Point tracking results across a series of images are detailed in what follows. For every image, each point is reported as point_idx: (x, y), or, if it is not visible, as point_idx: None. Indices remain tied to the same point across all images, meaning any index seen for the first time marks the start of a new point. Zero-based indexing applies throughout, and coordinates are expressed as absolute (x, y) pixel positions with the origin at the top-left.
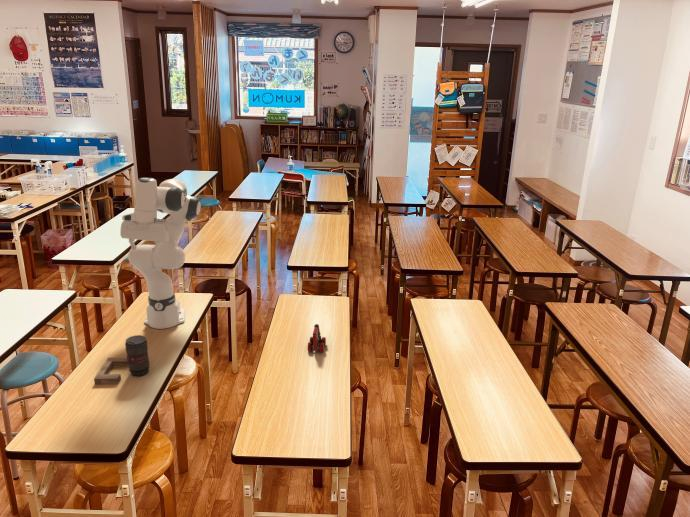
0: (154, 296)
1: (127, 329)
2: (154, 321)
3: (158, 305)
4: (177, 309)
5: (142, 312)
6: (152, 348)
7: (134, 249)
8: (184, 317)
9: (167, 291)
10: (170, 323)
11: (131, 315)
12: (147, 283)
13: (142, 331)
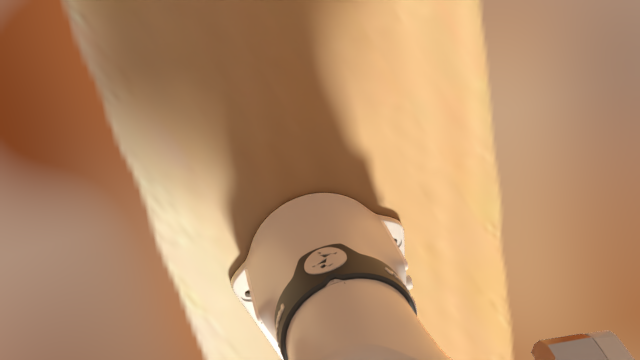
0: (360, 290)
1: (441, 151)
2: (336, 213)
3: (326, 261)
4: (256, 307)
5: (457, 298)
6: (227, 20)
7: (546, 348)
8: (250, 314)
9: (299, 345)
10: (266, 235)
11: (488, 262)
12: (429, 341)
13: (367, 154)
